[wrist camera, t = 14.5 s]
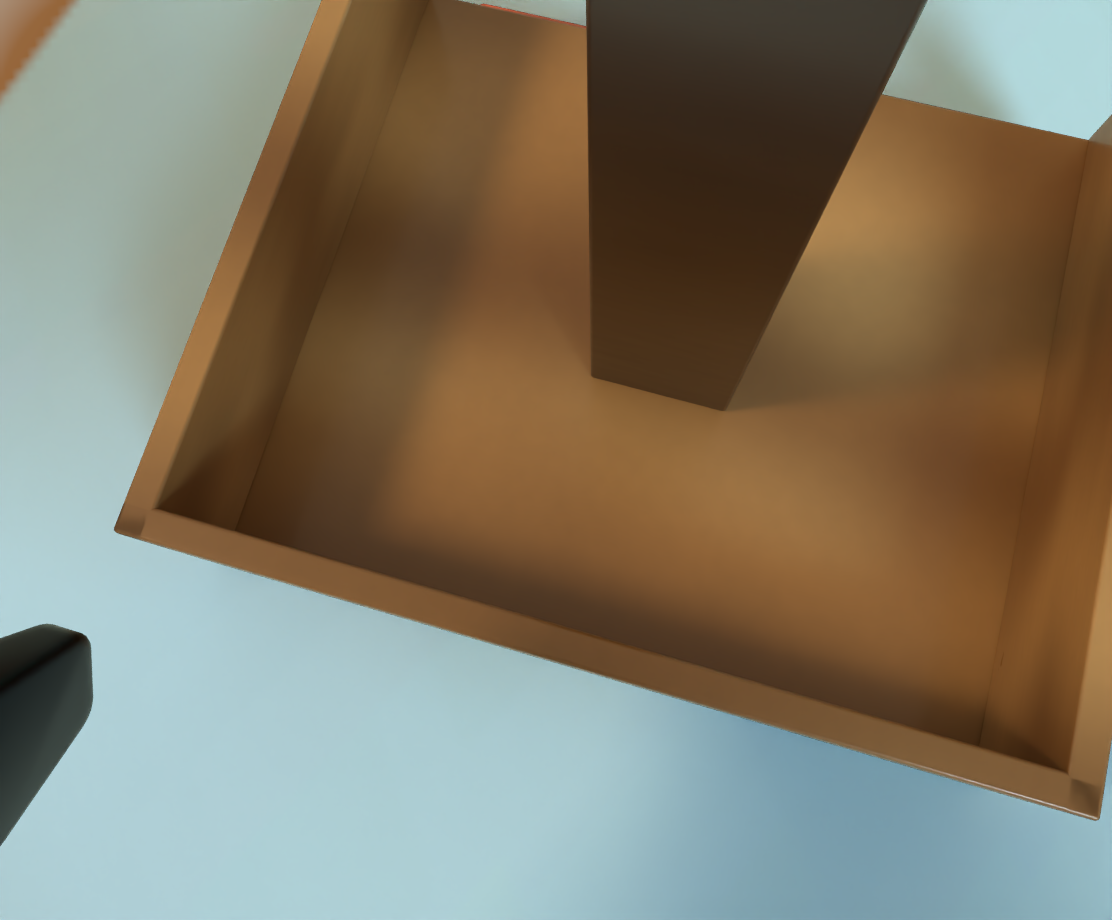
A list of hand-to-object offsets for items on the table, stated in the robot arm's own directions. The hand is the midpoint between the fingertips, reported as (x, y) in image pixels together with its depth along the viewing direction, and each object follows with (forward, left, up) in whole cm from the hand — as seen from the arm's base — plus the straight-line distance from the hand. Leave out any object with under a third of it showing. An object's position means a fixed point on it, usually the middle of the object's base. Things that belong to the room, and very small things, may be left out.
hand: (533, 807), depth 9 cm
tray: (+7, +4, -7) cm, 11 cm away
